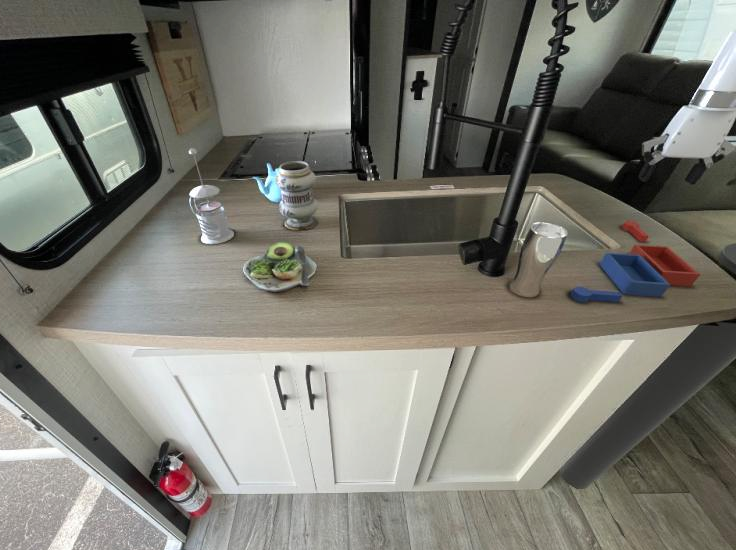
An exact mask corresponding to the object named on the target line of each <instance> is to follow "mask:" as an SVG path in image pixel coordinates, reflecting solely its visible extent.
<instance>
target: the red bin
mask: <svg viewBox="0 0 736 550" xmlns="http://www.w3.org/2000/svg"><path fill="white" fill-rule="evenodd" d="M628 254H636V255H640V256H641V257H642V258H643V259H644V260H645V261H646V262H647V263H649V264H650V265H651V266H652V267H653V268H654V269H655V270H656V271H657V272H658V273H659V274H660V275H661V276H662V277H663V278H664V279H665V280H666V281H667V282H668V283H669V284H670V286H677V287H692V286H693V285H694V283H695V282H696V281H697V279H698V278H699V277H700V276H701V275H702V274H701V273H700V272H699V271H698V270H696V269H695V268H694V267H693V266H692V265H691V264H690V263H688V262H687V261H686V260H684V258H682V257H681V256H679V255H678V253H676V252H675V251H674V250H673V249H671V248H670V247H669V246H667V245H649V244H647V245H646V244H634V245H633V247H632V248H631V250H630V252H629V253H628Z"/></svg>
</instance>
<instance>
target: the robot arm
mask: <svg viewBox="0 0 736 550" xmlns="http://www.w3.org/2000/svg"><path fill="white" fill-rule="evenodd" d="M691 98H692V99H690V102H689V104H688V105H682V107H681V108H680V109H679V110H678V111H677V113H676V114H675V115H674V116H673V118H671V120H670V122H669V123H668V125H667V126H666V128H664V131H663V132H662V134H661V135H660V136H658V137H655V138H653V139H650V140H646V141H644V142H643V143H641V156H642V158H643V161H644V162H645V163H644V164H643V166H642V168H641V170H640V171H639V173H638V179H639V180H640V181H641V182H643V183H647V182H649V180H650V178H651V176H652V175H653V173H654V171H655V170H656V168H657V165H656V164H657V163H658V162H660V161H662V160H663V159H665V158H674V159H675V158H678V159H697V160H698V161H697V163H695V164H693V166H692V167H691V168H690V170H689V172H688V174H687V175H686V176H685V178H684V181H685V182H686V183H688V184H689V185H692V186H693V185H696V184H697V182H698V181H699V180H700V179H701V178H702V177H703V175H704V173H705V172H706V171H707V169H709V168H712V166H714V164H716V163H718V162H720V161H722V160H723V159H724V158H725V157H726V156H728V155H729V154H731V153H732V152H733V151H734V150H736V145H734V144H733V143H731V142H730V141H728V140H727V139H726V137H727V136H728V134H729V133H730V130H731V128H732V127H733V125H734V123H735V121H736V28H734V29H733V30H732V31H730V33H729V35H728V36H727V37H726V39H725V41H724V43H723V45H722V46H721V48H720V50H719V51H718V54H717V55H716V57H715V58H714V60H713V62H712V64H711V66H710V67H709V69H708V70H707V72H706V74H705V76H704V78H703V79H702V81H701V83H700V85H699V86H698V88H697V90H696V92H695V93H694V95H693V96H692V97H691ZM653 147H654V148H653ZM652 148H653V152H651V150H652ZM720 148H721V149H720ZM719 149H720V150H719ZM718 150H719V151H718ZM717 151H718V152H717Z"/></svg>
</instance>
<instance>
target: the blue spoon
mask: <svg viewBox="0 0 736 550" xmlns="http://www.w3.org/2000/svg"><path fill="white" fill-rule="evenodd" d="M569 296H570V298H571V299H572V300H574V301H576V302H579V303H587V302H588V301H598V302H610V303H619V302H620V301H621V299H622V298H623V293H622V292H621V291H611V290H597V289H596V290H595V289H589V288H588V287H584V286H579V285H578V286H574V287H573V289H572V290H571V293H570V295H569Z"/></svg>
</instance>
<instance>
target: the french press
mask: <svg viewBox="0 0 736 550" xmlns="http://www.w3.org/2000/svg"><path fill="white" fill-rule="evenodd" d="M197 153H198V151H197V149H195V148H194V147H193V148H190V149H189V150H188V154H189V155H193V158H194V162H195V165H196V168H197V173H198V176H199V179H200V183H201V185H199V186H197V187H194V188H193V189H192V190H191V191H190V192H189V196H190V197H189V205H190V210H191V211H192V213H193V215H194V216H195V217H196V218H197V220H198V223H199V226H200V230H201V233H202V236H201V238H200V240H201V242H202V243H204V244H206V245H218V244H222V243H226V242H227V241H229V240H231V239H232V238H233V237H234V235H235V233H234V231H233V230H232V229H230V225H229V221H228V219H227V214H226V211H225V208H224V206H222V204H223V203H221V201H218V200H208V199H210V198H212V197H213V198H214V197H216V196H217V195H219V194H220V192H221V189H220V188H219V187H217V186H216V185H211V184H204V183H203V179H202V177H201V173H200V170H199V166H198V163H197V159H196V154H197ZM192 198H193V203H194V207H195V210H196V212H195V211H194V209H193V206H192V204H191V201H192V200H191V199H192ZM201 199H202V200H203V199H206V201H203V202H200V203H198V204H196V201H198V200H201Z"/></svg>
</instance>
